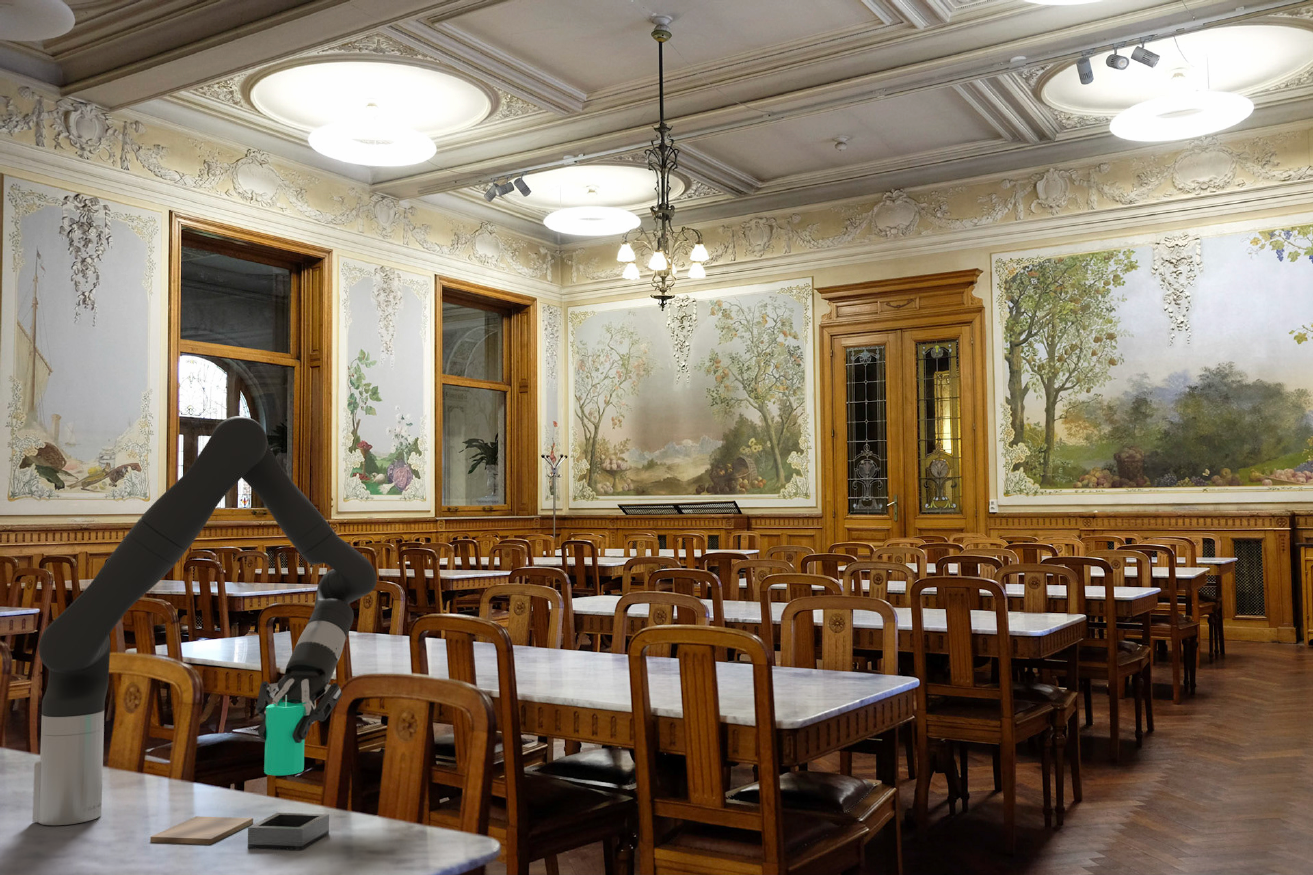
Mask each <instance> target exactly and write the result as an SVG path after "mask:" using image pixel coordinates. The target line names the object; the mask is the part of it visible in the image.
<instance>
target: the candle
mask: <svg viewBox="0 0 1313 875" xmlns="http://www.w3.org/2000/svg"><path fill="white" fill-rule="evenodd" d="M282 702H283V703H281V704H279V705H278V706H276V704H271V705H268V706H267V707H266V741H265V742H264V765H263V766H264V767H263V770H264V771H263V772H264V774H266V775H267V776H269V775H270V776H288V775H295V774H299V773H302V772H303V771H304V770H305V769H304V768H305V739H306V738H305V739H304V740H302V742H301V743H296V742H295V741H294V739H293V736H292V735H293V732H294V730H295V727H296V725H297V724H298V722H299V721H300V719H301V718H302V716H304V715H303V712H304V708H305V706H303V704H302V703H297V704H294V703H289V702H287V695H286V702H284V701H282Z"/></svg>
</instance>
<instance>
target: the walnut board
mask: <svg viewBox="0 0 1313 875" xmlns="http://www.w3.org/2000/svg"><path fill="white" fill-rule="evenodd" d="M252 825H254V817H228V816H227V817H225V816H199V815H197V816H194V817H192V818H189V819H188V820H187V819H186V820H185V821H183V822H180V823H178V824H175V825H173V826H172V827H169V828H167V829H165V830H163V831H159V832H158V833H156V834H154V835H152V836H150V838H149V840H150V843H163V844H164V843H165V844H166V843H167V844H188V845H189V844H194V845H213V844H214V843H217V842H219V841H220V840H223V839H225V838H226V837H228V836H231V835H233V834H235V833H237V832H239V831H240V830H243V829H244V828H248V827H250V826H252Z"/></svg>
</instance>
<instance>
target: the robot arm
mask: <svg viewBox="0 0 1313 875" xmlns="http://www.w3.org/2000/svg"><path fill="white" fill-rule="evenodd" d="M268 441H269V440H268V436H267V433H266V431H265V429H264V427H263V426H262V425H261V424H260V423H259V422H258V421H257V420H255V419H253V418H250V417H248V416H242V415H235V416H231V417H228V418H226V419H225V418H224V420H222V421H220V422H219V424H217V426H216V427H215V428H214V430H213V431H212V433H211V435H210V437H209V439H208V441H207V442H206V444H205V445H204V447H203V448H202V450H201V451H200V453H199V454H198V456H197V457H196V459H195V460H194V461H193V463H192V464H191V465H190V467H189V468H188V469H187V471H186V472H185V473H184V474H183V475H182V476H181V478H179V479H178V480H177V481H176V482H175V483H174V484H173V485H171V486H170V488H168V490H166V491H165V492H164V493H163V494H161V496H160V497H158V499H157V500H156V501H155V502H154V503H152V504H151V506H150V507H149V508H148V509H147V510H146V511H145V512H144V513H143V514H142V516H141V517H140V518H139V519H138V521H137V522H135V524H134V525H133V527H131V529H130V530H128V532H127V534H126V535H125V536H124V538H122V540H121V542H120V543H119V544H118V546H117V547H116V548H115V549H114V550H113V552H112V553H111V555H110V556H109V557H108V558H107V560H106V562H104V564H103V565H102V567H101V568H100V569H99V571H98V573H97V574H96V576H95V577H94V578H93V580H92V581H91V583H90V584H89V585H88V586H87V587H86V588H85V589H84V590H83V591H82V592H81V594H80V595H79V596H78V597H77V598H76V599H74V601H72V603H70V605H68V607H67V608H66V609H64V611H63V612H62V613H61V614H60V615H59V616H57V617H56V618H55V619H54V620H53V621H52V622H51V623H50V624H49V625H48V626H47V627H46V628H45V629H44V631H43V632H42V635H41V637H40V640H39V642H38V655H39V658H40V661H41V663H42V664H43V665H44V667H46V668H47V669H48V680H47V681H48V682H47V686H46V691H45V693H44V695H43V698H42V701H41V725H40V726H41V728H40V729H41V730H40V731H41V732H40V753H39V754H40V758H39V759H40V760H38V761H36V762H35V763H34V765H33V768H34V769H33V791H32V793H33V796H32V820H31V822H32V823H38V824H40V825H44V826H62V825H63V826H65V825H66V826H67V825H75V824H79V823H85V822H89V821H92V820H95V819H98V818H99V817H101V816H102V808H103V807H102V806H103V805H102V801H103V799H102V798H103V774H104V773H103V770H104V739H105V738H104V735H105V734H104V732H105V726H104V725H105V706H106V704H105V703H106V697H107V692H108V689H109V679H110V678H109V676H110V661H111V659H110V658H111V639H110V634H111V632H112V631H113V630H114V628H115V627H116V625H117V624H118V623H119V622H120V620H121V619H122V618H123V617H124V615H125V614H126V613H127V611H128V610H129V609H130V608H132V606H133V605H135V603H137V601H139V600H140V599H141V598H143V597H144V595H146V594H147V593H148V592H149V591H150V590H151V589H152V588H154V587H155V585H157V584H158V583H159V582H160V581H161V580H163V578H164V577H165V576H166V575H167V574H168V573H169V572H170V571H171V570H172V569H173V567H174V566H175V565H176V564H177V563H178V562H179V561H180V560H181V558H182V557H183V556H184V554H186V552H187V550H188V549H189V548H190V547H191V546H192V545H193V543H194V541H195V540H196V538H197V537H198V536H199V534H200V533H201V531H203V529H204V527H205V526H206V524H207V523H208V521H209V519H210V518H211V516H212V515H213V513H214V511H215V510H216V508H217V506H218V505H219V504H220V502H221V501H222V500H223V498H224V497H225V496H226V495H227V493H229V491H230V490H232V488H233V487H234V486H235V485H236V484H237V483H238V482H239V481H240V480H241V479H242V480H243V481H245V483H247V485H248V486H249V487H250V488H251V489H252V490H253V491H254V493H256V495H257V496H258V498H259V499H260V500H261V502H262V503H263V504H264V506H265V507H266V508H267V510H268V512H269V513H270V515H272V517H273V519H274V520H275V522H276V523H277V525H278V527H279V528H280V529H281V531H282V532H283V533H284V535H285V536H286V537H287V539H288V540H289V542H290V543H291V544H292V545H293V547H294V548H295V550H297V552H298V553H299V554H300V555H301V556H302V558H303V559H304V561H306V562H307V563H308V564H310V565H320V564H321V565H322V564H325V565H327V566H329V567H330V568H331V569H330V570H328V571H327V572H326V573H324V575H323V576H322V577H321V578H320V581H319V582H318V585H317V589H316V594H315V601H314V610H313V612H312V613H311V616H310V617H309V620H308V622H307V624H306V626H305V628H304V629H303V631H302V633H301V635H300V636H299V638H298V641H297V643H296V645H295V646H294V649H293V651H292V652H291V656H290V658H289V660H288V662H287V664H286V667H285V669H284V670H285V671H284V675H283V676H282V677H281V678H280V679H279V680H278V682H276V683H269V682H268V681H267V680H266V681H265V680H264V681H262V682H261V683H260V687H259V692H258V696H257V701H256V706H255V711H256V712H257V713H258V716H259V717H260V718H261V720H262V721H261V723H260V724H259V728H258V729H257V735H258V737H259V739H260V740H261V742H264V743H265V741H266V707H267V706H268V705H271V704H276V706H278V705H279V704H281V703H283V702H286V695H287V702H289V703H294V704H297V703H302V704H303V706H305V708H304V712H303V715H304V716H302V718H301V719H300V721H299V722H298V724H297V725H296V727H295V730H294V732H293V735H292V736H293V739H294V741H295V742H296V743H301V742H302V740H304V739H306V738H307V736H308V734H309V731H310V729H311V726H312V725H313V724H314V723H315V722H316V721H317V722H318V721H320V722H325V721H326V720H327V718H328V717H329V715H330V714H331V712H332V711H333V709H334V707H336V704H338V702H339V700H340V699H341V698H342V695H343V692H342V689H341V687H340V686H339V684H338V683H337V682H333V683H331V679H332V677H333V675H334V672H335V670H336V667H337V665H338V663H339V660H340V658H341V657H342V653H343V650H344V646H345V642H346V640H347V638H348V634H349V632H350V630H351V627H352V625H353V623H354V610H353V609H352V607H351V605H350V604H351V603H353V602H356V601H357V600H359V599H361V598H362V597H364V596H367V595H368V594H370V593H371V592H373V591H374V589H375V587H376V585H377V580H378V579H377V573H376V570H375V568H374V566H373V565H372V563H371V562H370V560H369V559H368V558H367V557H365V556H364V554H362V553H361V552H359V550H357V549H356V548H355V547H353V546H352V545H350V543H348V542H347V541H345V540H344V539H343V538H341V537H340V536H339V535H338V534H337V533H336V532H335V530H334V529H333V527H332V526H331V525H330V523H329V522H328V521H327V520H326V519H325V517H324V516H323V515H322V513H321V512H320V511H319V510H318V509H317V508H316V506H315V505H314V504H313V503H312V501H310V499H309V498H308V497H307V496H306V495H305V494H304V492H302V491H301V489H299V487H298V486H297V485H296V484H295V482H293V480H292V479H291V478H290V476H289V475H288V474H287V472H286V471H285V470H284V468H283V467H282V465H281V464H280V462H279V460H278V459H277V457H276V456H275V455H276V454H274V452H273V450H272V448H271V446H270V444H269V442H268ZM330 683H331V684H330ZM321 697H322V698H321ZM320 698H321V699H320ZM318 699H320V701H319V702H318V703H317V700H318ZM316 703H317V705H316Z"/></svg>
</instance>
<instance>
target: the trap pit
mask: <svg viewBox="0 0 1313 875" xmlns="http://www.w3.org/2000/svg"><path fill="white" fill-rule="evenodd" d="M329 834H330V814H328V813H327V814H326V813H297V812H276V813H274V814H272V815H270V816H268V817H266V818H264V819H262V820H260V821H258V822H256V823H253V824H251V825H249V826H247V849H256V850H258V849H260V850H285V851H287V850H289V851H303V850H305V849H307V848H308V847H309V846H311V845H313V844H315V843H317V842H319V841H320V840H322V839H323V838H325V837H327V836H329Z"/></svg>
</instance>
